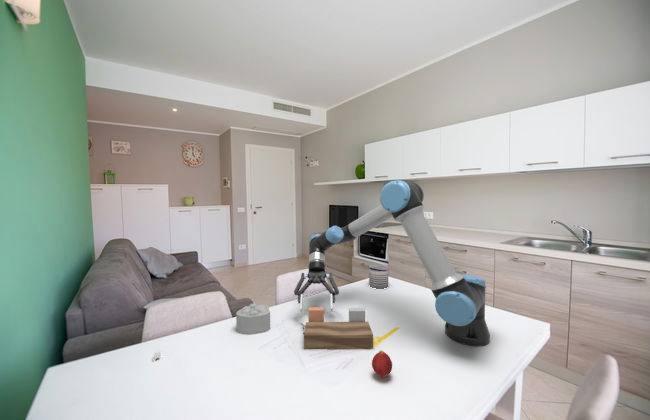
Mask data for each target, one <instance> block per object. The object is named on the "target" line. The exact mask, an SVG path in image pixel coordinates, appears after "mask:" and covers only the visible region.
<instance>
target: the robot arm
mask: <svg viewBox="0 0 650 420" xmlns="http://www.w3.org/2000/svg"><path fill="white" fill-rule="evenodd" d="M424 195H425V194H424V190H423V189H422V187H421V186H420V185H419V184H418V183H416V182H414V181H404V180H401V179H399V180H398V179H397V180H391V181H389V182H388V183H386V184H385V185H384V186H383V187H382V189H381V192H380V195H379V201H380V204H379V205H378V206H377V207H375V208H373V209H372V210H370V211H368V212H367V213H365V214H363V215H362V216H360V217H359V218H357V219H355V220H353V221H352V222H350V223H349V224H347V225H346V226H343V227H340V226H338V225H333V226H331V227H329V228H327V230H325V231H324V232H323V233H316V234H312V235H311V236H310V237H309V243H308V245H309V247H308V248H309V249H308V251H309V253H308V272H307V273H304V272H301V274H300V275H301V276H300V279H299V281H298V282H297V285H296V287H295V288H294V290H293V293H294V296H297V302H298V304H299V311H300V313H302V312H303V303H304V296H303V295H304V293H305V291H306V290H307V289H308V288H309V287H310V286H312V284H313V285H315V284H318V285H320V284H321V285H322V286H324V288H325V289H326V290H327V291H328V292H329V294H330V296H329V297H330V299H329V301H330V313H332V312H333V311H334V309H333V308H334V305H333V304H335V302H336V296H338V295H339V293H340V289H339V288H338V286H337V283H336V282H335V279H334V277H333V273H332V272H329V273H326V255H325V254H326V251H327V250H329V249H330V248H331V247H333V246H335V245H340V244H346V243H351V242H354V241H355V240H356V239H357V238H358V237H359V236H361V235H364V234H365V233H367V232H369V231H370V230H372V229H374V228H376V227H378V226H379V225H383V223H385V222H387V221H389V220H391V219H392V218H393V219H394V221H395V222H398V223H400V224H401V226H402V228H403V230H404V231H405V233H406V235H407V237H408V238H409V241H410V243H411V244H412V245H411V246H413V248H414V250H415V252H416V254H417V256H418V259H419V260H420V261H421V264H422V265H423V268H424V269H425V271H426V273H427V275H428V278H429V279H430V282H432V283H431V288H430V290H431V293H432V294H433V296H434V297H435V302H434V306H435V311H436V313H437V315H438V316H439V318H440V319H442V320H443V321H444V322H445V325H444V333H445V334H446V336H447V337H448V338H449V339H451V340H453V341H455V342H457V343H460V344H463V345H467V346H472V347H473V346H474V347H475V346H476V347H481V346H486V345H488V344H489V343H490V341H491V340H490V339H491V337H490V336H491V335H490V334H491V333H490V332H489V331H490V330H489V327H488V325H487V321H486V319H485V318H486V289H487V285H486V280H485V279H484V278H482V277H480V276H476V275H471V274H462V273H457V272H456V270H455V268H454V267H453V264H452V263H451V261H450V260H449V258H448V256H447V254H446V252H445V251H444V249H443V247H442V245H441V242H439V240H438V238H437V236H436V235H435V233H434V231H433V230H432V227H431V225H430V224H429V222H428V220H427V218H426V216H425V215H424V213H423V210H424V207H425V206H424V204H423V201H424V198H425V197H424ZM305 279H307V281H306V282H305V283H304V281H305ZM326 279H328V280H329V282H330V284H331V286H330V284H329V283H328V282H327V280H326ZM303 283H304V285H303ZM302 285H303V286H302Z"/></svg>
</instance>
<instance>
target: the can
mask: <svg viewBox="0 0 650 420" xmlns="http://www.w3.org/2000/svg"><path fill="white" fill-rule="evenodd" d="M368 267H369V270H368V277H369V278H368V286H369V285H370V287H372V288H376V289H384V288H387V287H388V288H389V269H390V268H389V267H387V266H384V265H383V266H382V265H369V266H368ZM370 287H369V288H370ZM372 288H371V289H372ZM388 288H387V289H388ZM376 289H375V290H376ZM384 290H385V289H384Z"/></svg>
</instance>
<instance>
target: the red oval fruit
mask: <svg viewBox="0 0 650 420" xmlns="http://www.w3.org/2000/svg"><path fill="white" fill-rule="evenodd" d="M371 367H372V371H374V373H375V374H376V375H378V376H379V377H381V378H384V377H387V376H389V375H390V374H391V372H392V370H393V362H392V359H391V357H390V355H389V354H387V353H386V352H385V351H384V350H382V349H381V350H379V352H376V354H375V355H373V358H372V359H371Z"/></svg>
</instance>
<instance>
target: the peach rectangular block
mask: <svg viewBox="0 0 650 420" xmlns="http://www.w3.org/2000/svg"><path fill="white" fill-rule="evenodd" d="M308 322H325V307H323V306H315V307H314V306H309V307H308Z"/></svg>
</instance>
